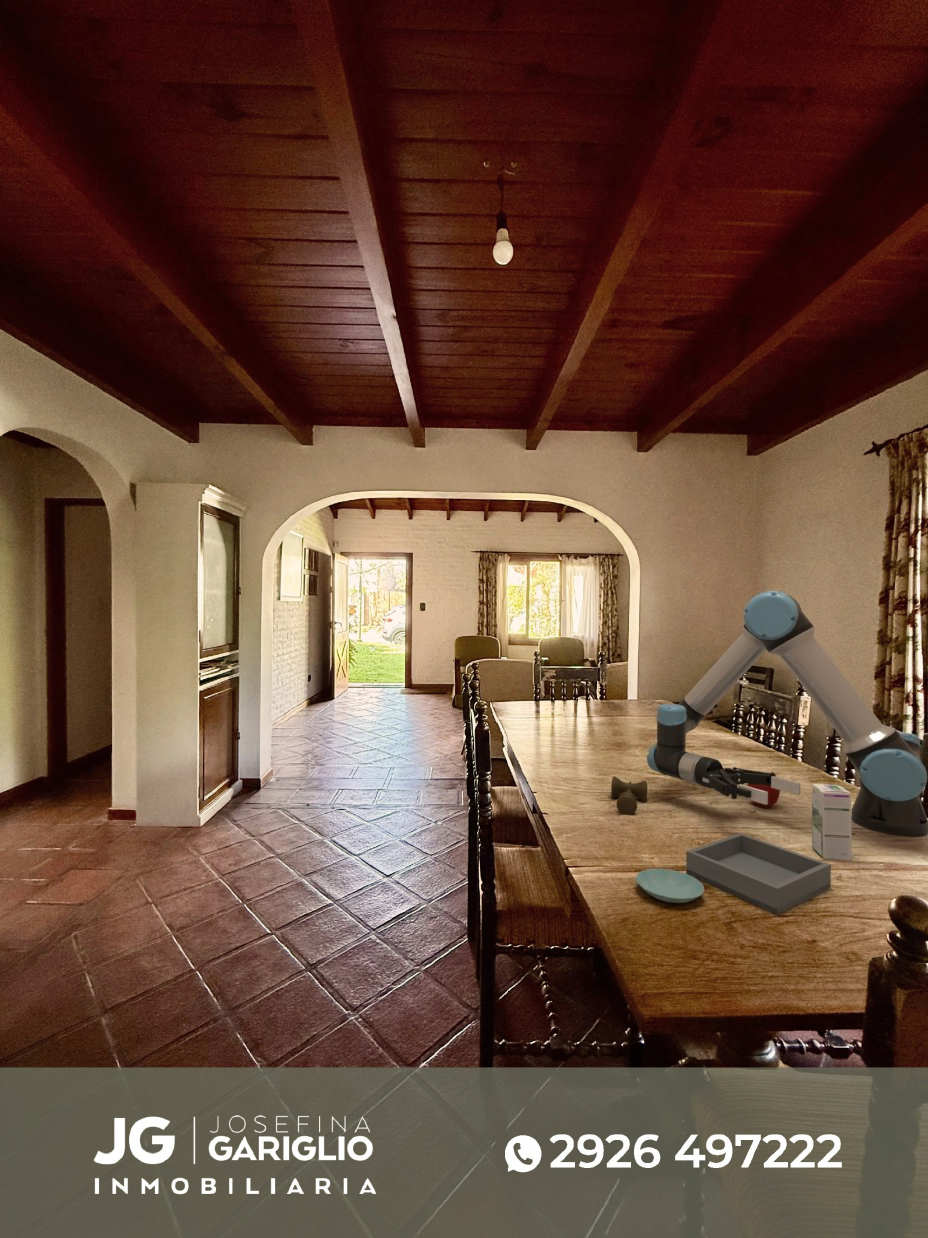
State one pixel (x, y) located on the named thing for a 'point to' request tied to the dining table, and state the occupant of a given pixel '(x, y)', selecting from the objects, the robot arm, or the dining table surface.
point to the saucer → (670, 885)
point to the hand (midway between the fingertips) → (783, 793)
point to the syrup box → (831, 822)
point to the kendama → (628, 794)
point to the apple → (772, 794)
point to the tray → (759, 872)
